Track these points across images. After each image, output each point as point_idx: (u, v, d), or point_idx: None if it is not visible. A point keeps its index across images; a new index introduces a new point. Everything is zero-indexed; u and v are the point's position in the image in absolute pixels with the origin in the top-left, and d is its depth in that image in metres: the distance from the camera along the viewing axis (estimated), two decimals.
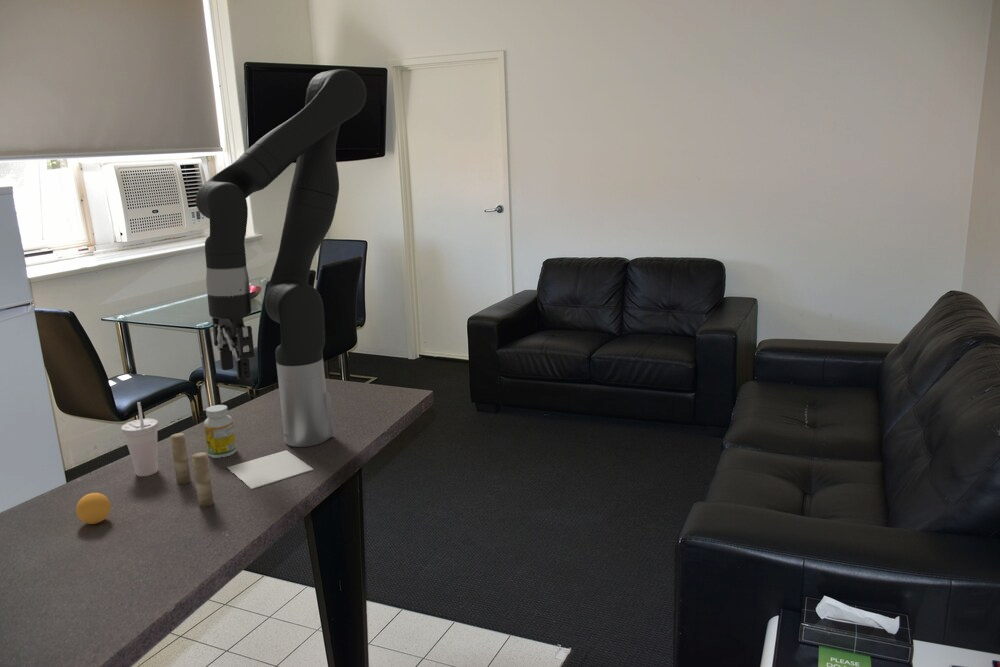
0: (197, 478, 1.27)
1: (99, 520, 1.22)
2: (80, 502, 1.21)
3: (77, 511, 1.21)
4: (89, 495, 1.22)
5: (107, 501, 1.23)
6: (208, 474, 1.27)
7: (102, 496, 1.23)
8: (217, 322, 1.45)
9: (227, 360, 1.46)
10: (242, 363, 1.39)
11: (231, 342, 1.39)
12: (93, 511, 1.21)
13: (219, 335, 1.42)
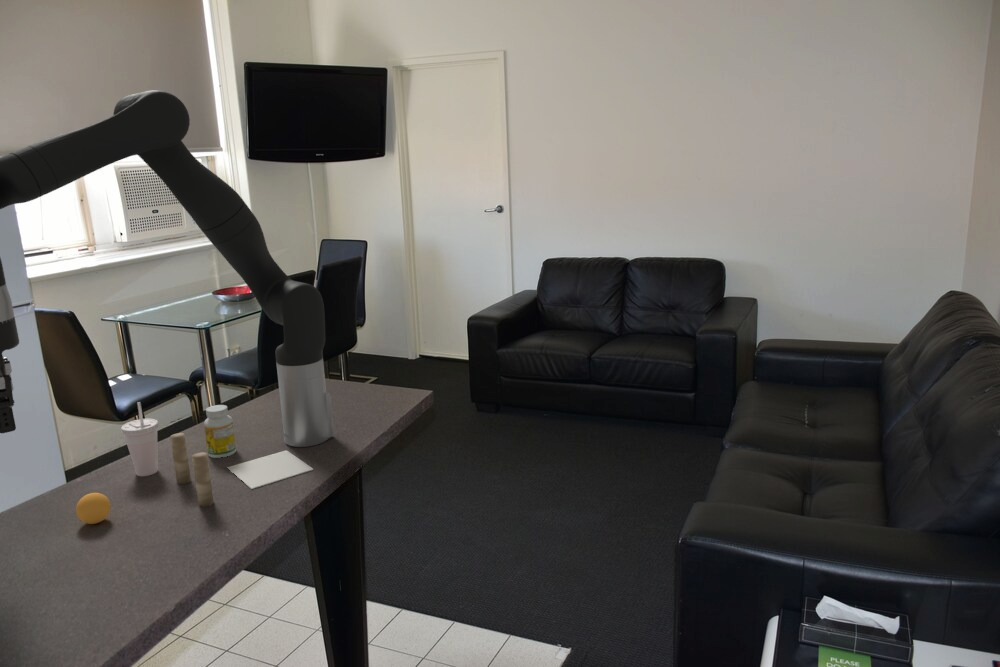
0: (197, 478, 1.27)
1: (99, 520, 1.22)
2: (80, 502, 1.21)
3: (77, 511, 1.21)
4: (89, 495, 1.22)
5: (107, 501, 1.23)
6: (208, 474, 1.27)
7: (102, 496, 1.23)
8: None
9: None
10: (0, 413, 1.10)
11: None
12: (93, 511, 1.21)
13: None
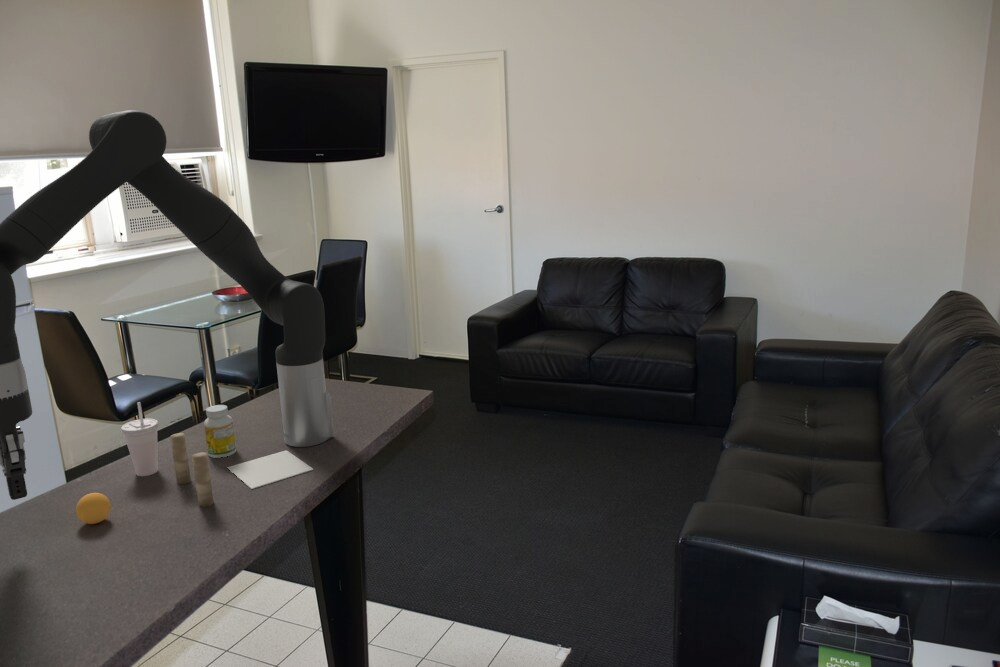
0: (197, 478, 1.27)
1: (99, 520, 1.22)
2: (80, 502, 1.21)
3: (77, 511, 1.21)
4: (89, 495, 1.22)
5: (107, 501, 1.23)
6: (208, 474, 1.27)
7: (102, 496, 1.23)
8: None
9: None
10: (13, 480, 1.14)
11: (0, 458, 1.12)
12: (93, 511, 1.21)
13: None
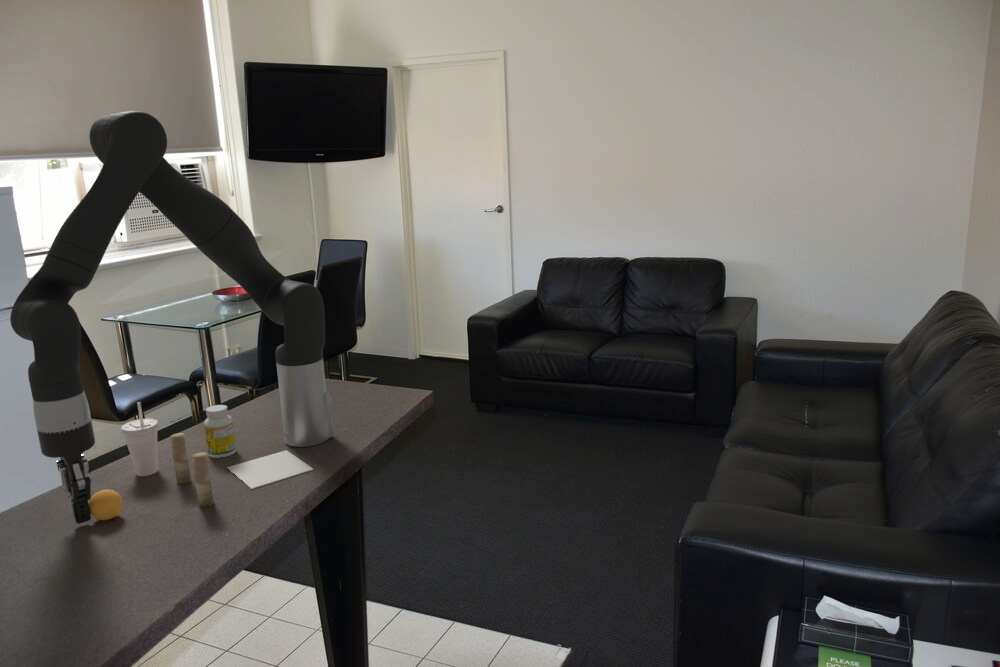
0: (197, 478, 1.27)
1: (106, 518, 1.23)
2: (100, 493, 1.23)
3: (92, 500, 1.22)
4: (110, 490, 1.24)
5: (121, 504, 1.25)
6: (208, 474, 1.27)
7: (120, 497, 1.25)
8: None
9: None
10: (78, 506, 1.20)
11: (66, 485, 1.19)
12: (107, 507, 1.22)
13: (61, 474, 1.20)
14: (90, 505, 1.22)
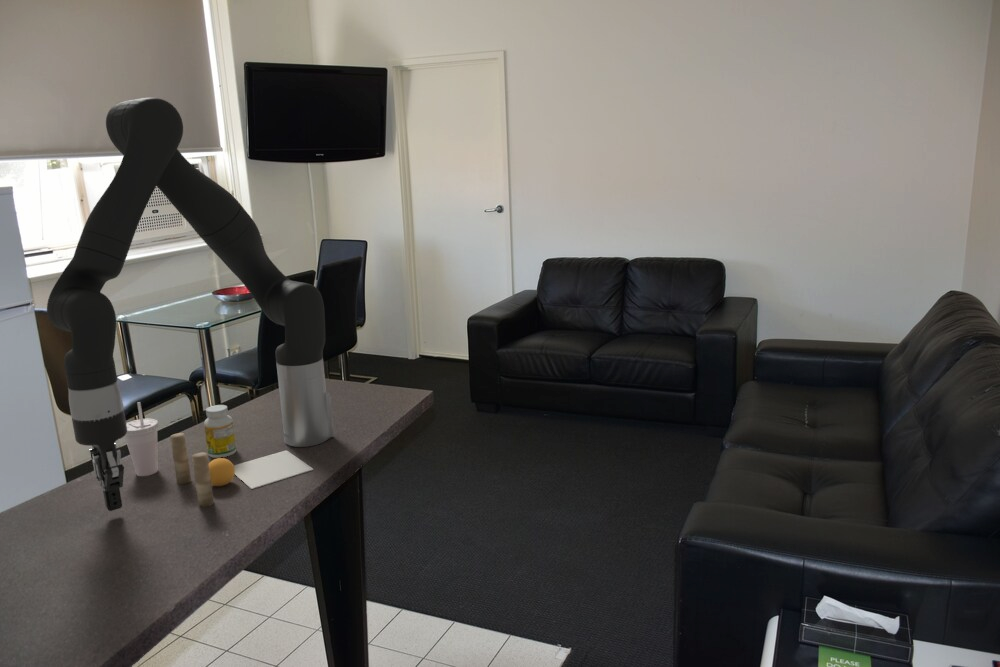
0: (197, 478, 1.27)
1: (215, 478, 1.33)
2: None
3: (223, 459, 1.35)
4: None
5: (227, 483, 1.36)
6: (208, 474, 1.27)
7: None
8: None
9: None
10: (110, 493, 1.23)
11: (100, 473, 1.21)
12: (227, 474, 1.34)
13: (93, 462, 1.23)
14: (218, 460, 1.34)
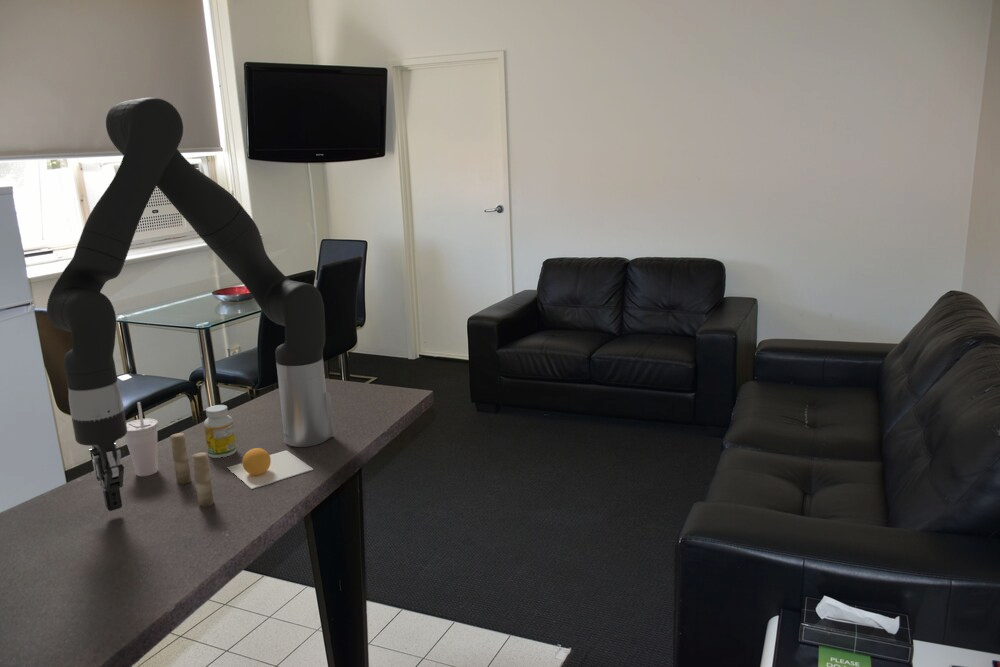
0: (197, 478, 1.27)
1: (267, 459, 1.39)
2: (252, 474, 1.39)
3: None
4: None
5: (249, 457, 1.37)
6: (208, 474, 1.27)
7: (245, 461, 1.37)
8: None
9: None
10: (110, 493, 1.23)
11: (100, 473, 1.21)
12: (260, 468, 1.38)
13: (93, 462, 1.23)
14: None
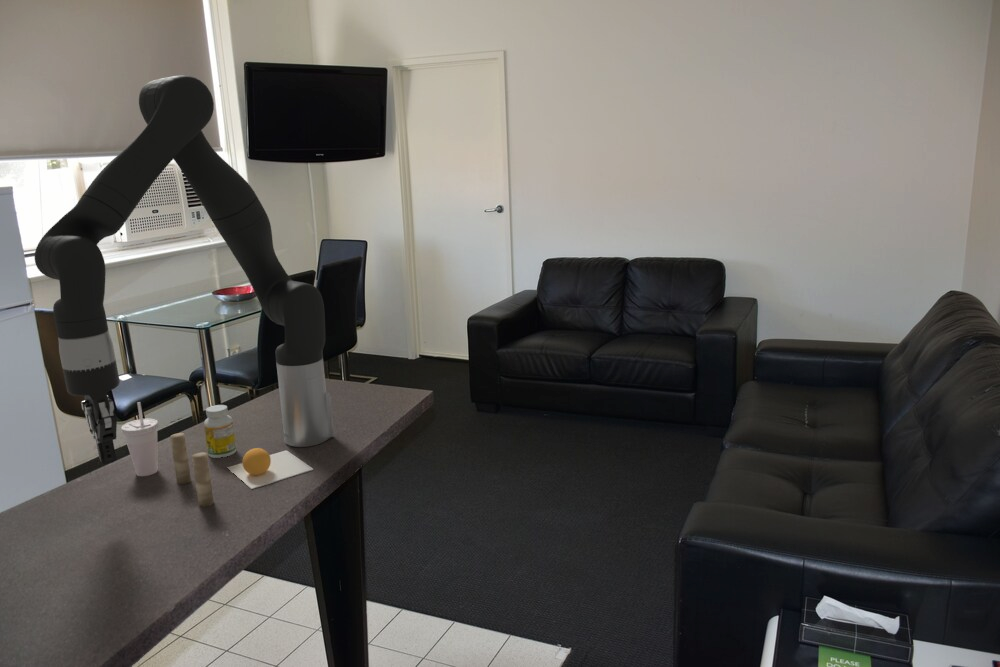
0: (197, 478, 1.27)
1: (267, 459, 1.39)
2: (252, 474, 1.39)
3: None
4: None
5: (249, 457, 1.37)
6: (208, 474, 1.27)
7: (245, 461, 1.37)
8: None
9: None
10: (104, 446, 1.21)
11: (92, 425, 1.19)
12: (260, 468, 1.38)
13: (86, 414, 1.21)
14: None
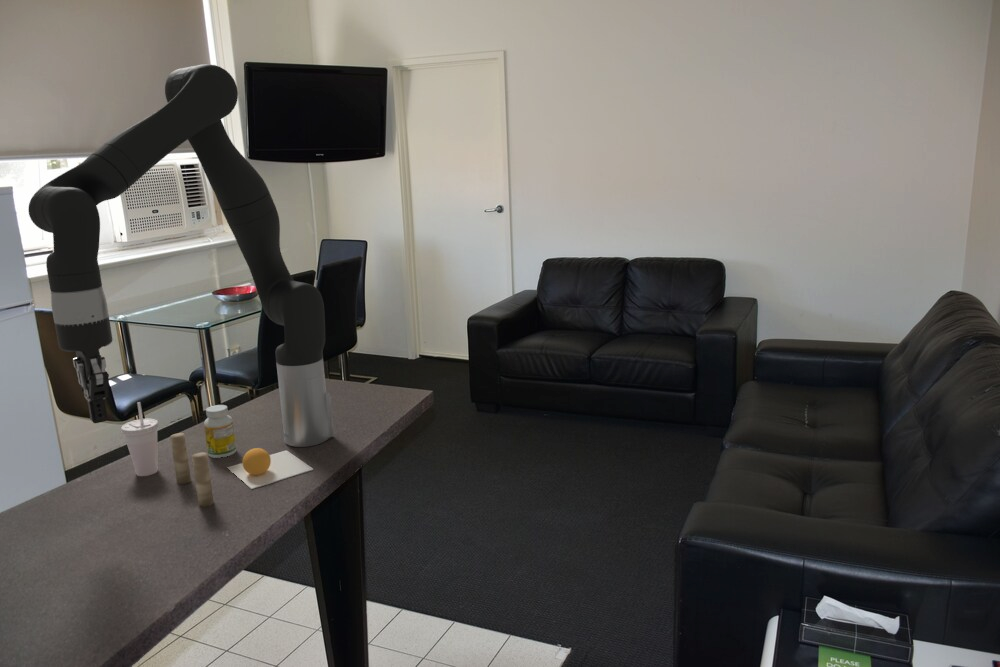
0: (197, 478, 1.27)
1: (267, 459, 1.39)
2: (252, 474, 1.39)
3: None
4: None
5: (249, 457, 1.37)
6: (208, 474, 1.27)
7: (245, 461, 1.37)
8: None
9: None
10: (95, 404, 1.19)
11: (84, 382, 1.17)
12: (260, 468, 1.38)
13: (77, 372, 1.19)
14: None
